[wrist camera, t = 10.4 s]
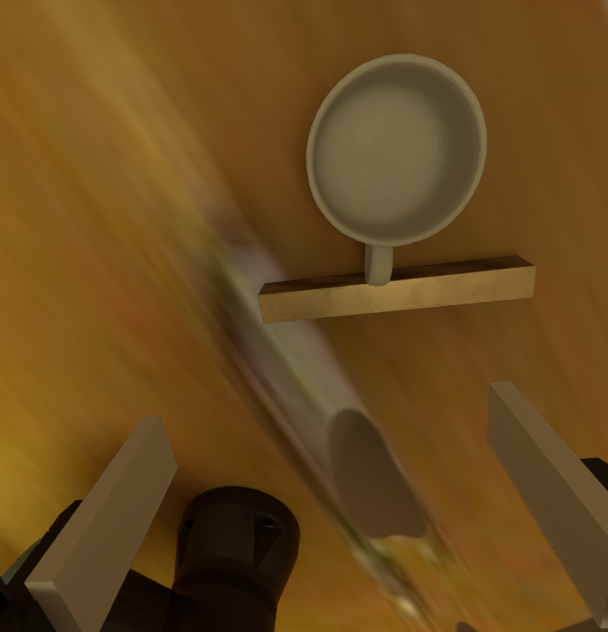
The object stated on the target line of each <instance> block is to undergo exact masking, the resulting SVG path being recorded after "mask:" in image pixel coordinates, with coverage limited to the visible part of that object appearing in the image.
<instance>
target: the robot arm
mask: <svg viewBox="0 0 608 632" xmlns="http://www.w3.org/2000/svg"><path fill="white" fill-rule="evenodd" d="M487 442H488V444H489V445H490V447H491V449H492V450H493V452H494V454H495V455H496V457H497V458H498V460H499V462H500V463H501V465H502V467H503V468H504V470H505V472H506V473H507V475H508V477H509V478H510V480H511V482H512V483H513V485H514V487H515V488H516V490H517V492H518V493H519V495H520V497H521V498H522V500H523V501H524V503H525V505H526V506H527V508H528V510H529V511H530V513H531V515H532V516H533V518H534V520H535V521H536V523H537V525H538V526H539V528H540V530H541V531H542V533H543V535H544V536H545V538H546V539H547V541H548V543H549V544H550V546H551V548H552V549H553V551H554V553H555V554H556V556H557V558H558V559H559V561H560V563H561V564H562V566H563V568H564V569H565V571H566V573H567V574H568V576H569V578H570V579H571V581H572V582H573V584H574V586H575V587H576V589H577V591H578V592H579V594H580V596H581V597H582V599H583V601H584V602H585V604H586V606H587V607H588V609H589V611H590V612H591V614H592V616H593V617H594V619H595V620H596V622H597V624H598V625H599V627H600V628H608V464H607V463H606V462H604V461H603V460H601V459H599V458H587V459H579V458H578V457H577V456H576V455H575V454H574V452H573V451H572V450H571V449H570V448H569V447H568V446H567V445H566V443H565V442H564V441H563V440H562V439H561V438H560V437H559V436H558V434H557V433H556V432H555V431H554V430H553V429H552V428H551V426H550V425H549V424H548V423H547V422H546V421H545V420H544V419H543V417H542V416H541V415H540V414H539V413H538V412H537V411H536V410H535V408H534V407H533V406H532V405H531V404H530V403H529V402H528V400H527V399H526V398H525V397H524V396H523V395H522V394H521V393H520V391H519V390H518V389H517V388H516V387H515V386H514V385H513V384H512V382H511V381H501V382H491V383H489V395H488V423H487ZM177 469H178V466H177V463H176V460H175V457H174V454H173V451H172V448H171V446H170V443H169V440H168V437H167V434H166V431H165V428H164V425H163V423H162V420H161V417H160V416H153V417H143V418H142V419H141V420H140V422H139V423H138V425H137V426H136V427H135V429H134V430H133V432H132V433H131V434H130V436H129V437H128V439H127V440H126V441H125V443H124V444H123V446H122V447H121V448H120V450H119V451H118V453H117V454H116V455H115V457H114V458H113V459H112V461H111V462H110V464H109V465H108V466H107V468H106V469H105V471H104V472H103V473H102V475H101V476H100V478H99V479H98V480H97V482H96V483H95V485H94V486H93V487H92V489H91V490H90V492H89V493H88V494H87V496H86V497H85V499H84V500H76V501H75V502H73V503H72V504H71V505H70V506H69V507H68V508H67V509H65V510H64V511H63V512H62V513H61V514H60V515H59V516H58V518H57V519H56V520H55V522H54V523H53V524H52V526H51V527H50V528H49V532H46V534H45V535H44V536H43V538H41V539H39V540H38V541H36V542H35V543H34V544H33V545H31V546H30V547H29V548H28V549H27V550H26V551H25V552H24V553H23V554H22V555H21V556H20V557H19V558H18V559H17V560H16V561H15V562H14V563H13V565H12V566H11V567H10V568H9V569H8V570H7V571H6V572H5V573H4V574H3V575H2V576H1V577H0V632H274V629H275V620H276V612H277V605H278V602H279V600H280V597H281V595H282V593H283V590H284V588H285V586H286V583H287V581H288V579H289V576H290V574H291V572H292V569H293V567H294V565H295V562H296V559H297V556H298V549H299V538H300V532H299V527H298V524H297V521H296V519H295V518H294V516H293V515H292V513H291V512H290V511H289V510H288V509H287V508H286V507H285V506H284V505H283V504H281V503H280V502H279V501H277V500H275V499H274V498H272V497H270V496H268V495H266V494H263V493H261V492H258V491H254V490H250V489H245V488H219V489H215V490H211V491H208V492H206V493H203V494H201V495H200V496H198V497H197V498H195V499H194V500H193V501H192V502H191V503H190V504H189V505H188V507H187V509H186V511H185V513H184V515H183V518H182V520H181V523H180V525H179V529H178V533H177V545H176V560H175V574H174V582H173V585H172V588H171V589H169V588H167V587H165V586H164V585H162V584H160V583H158V582H156V581H154V580H152V579H150V578H148V577H146V576H144V575H142V574H140V573H138V572H136V571H134V570H132V569H131V568H130V567H131V565H132V563H133V561H134V558H135V556H136V554H137V552H138V550H139V548H140V546H141V544H142V542H143V540H144V538H145V535H146V533H147V531H148V529H149V527H150V525H151V523H152V521H153V519H154V517H155V515H156V513H157V510H158V508H159V506H160V504H161V502H162V500H163V498H164V496H165V494H166V492H167V490H168V488H169V485H170V483H171V481H172V479H173V477H174V475H175V473H176V471H177Z"/></svg>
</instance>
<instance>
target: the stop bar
mask: <svg viewBox="0 0 608 632" xmlns="http://www.w3.org/2000/svg"><path fill="white" fill-rule="evenodd" d="M535 272H536V265H533V264H531V263H529V262H527V261H526V260H524V259H522V258H520V257H518V256H508V257H499V258H490V259H481V260H472V261H463V262H454V263H446V264H437V265H428V266H419V267H410V268H401V269H392V274H391V278H390V281H389V282H388V284H387V285H385V286H380V287H374V286H371V285H369V284H368V283H367V282H366V279H365V273H356V274H347V275H338V276H329V277H320V278H311V279H302V280H293V281H284V282H275V283H266V284H264V286H263V288H262V290H261V291H260V293H259V295H258V298H259V303H260V309H261V314H262V319H263V324H264V323H275V322H285V321H295V320H305V319H315V318H326V317H336V316H346V315H356V314H366V313H377V312H387V311H397V310H407V309H417V308H427V307H438V306H448V305H458V304H468V303H478V302H489V301H499V300H509V299H519V298H529V297H533V290H534V281H535Z"/></svg>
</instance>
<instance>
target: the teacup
mask: <svg viewBox="0 0 608 632" xmlns="http://www.w3.org/2000/svg"><path fill="white" fill-rule="evenodd" d="M486 154H487V131H486V124H485V121H484V117H483V112H482V109H481V107H480V104H479V101H478V100H477V98H476V96H475V94H474V93H473V91H472V89H471V88H470V87H469V85H468V84H467V83H466V81H465V80H464V79H463V78H462V77H461V76H459V75H458V74H457V73H456V72H455V71H453V70H452V69H451V68H449V67H448V66H446V65H444V64H442V63H440V62H438V61H436V60H434V59H431V58H428V57H424V56H421V55H416V54H409V53H407V54H393V55H386V56H382V57H377V58H375V59H372V60H370V61H367V62H365V63H363V64H362V65H360V66H358V67H357V68H355V69H354V70H352V71H351V72H350V73H348V74H347V75H346V76H345V77H344V78H342V79H341V80H340V81H339V82H338V83H337V84H336V85H335V87H334V88H333V89H332V90H331V91H330V92H329V94H328V95H327V96H326V98H325V99H324V101H323V102H322V104H321V105H320V107H319V109H318V111H317V113H316V115H315V117H314V120H313V122H312V125H311V128H310V131H309V135H308V141H307V146H306V171H307V178H308V182H309V186H310V189H311V193H312V196H313V198H314V201H315V202H316V204H317V206H318V207H319V209H320V210H321V212H322V213H323V215H324V216H325V218H326V219H327V220H328V221H329V222H330V223H331V224H332V225H333V226H334V227H335V228H336V229H338V230H339V231H340V232H341V233H343V234H344V235H346V236H348V237H350V238H352V239H354V240H357V241H359V242H363V243H365V279H366V282H367V283H368V284H369V285H371V286H374V287H380V286H385V285H387V284H388V282H389V281H390V278H391V274H392V267H393V247H394V246H402V245H407V244H411V243H415V242H418V241H421V240H424V239H426V238H428V237H430V236H431V235H433V234H435V233H437V232H439V231H440V230H441V229H443V228H444V227H446V226H447V225H448V224H449V223H451V222H452V221H453V220H454V219H455V218H456V217H457V216H458V215H459V214H460V212H461V211H462V210H463V209H464V208H465V206H466V205H467V203H468V202H469V200H470V198H471V197H472V195H473V193H474V191H475V189H476V187H477V186H478V184H479V181H480V178H481V175H482V172H483V169H484V165H485V160H486Z"/></svg>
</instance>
